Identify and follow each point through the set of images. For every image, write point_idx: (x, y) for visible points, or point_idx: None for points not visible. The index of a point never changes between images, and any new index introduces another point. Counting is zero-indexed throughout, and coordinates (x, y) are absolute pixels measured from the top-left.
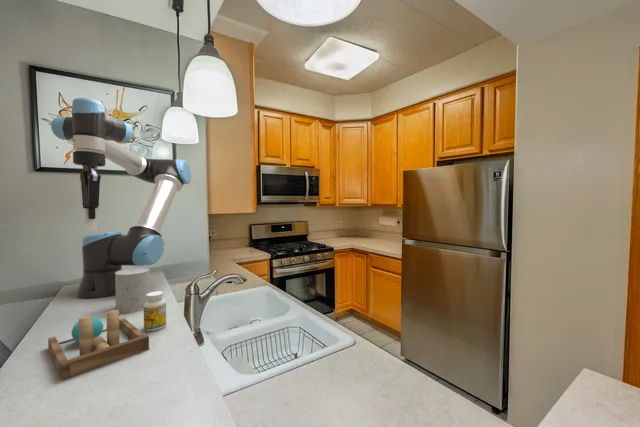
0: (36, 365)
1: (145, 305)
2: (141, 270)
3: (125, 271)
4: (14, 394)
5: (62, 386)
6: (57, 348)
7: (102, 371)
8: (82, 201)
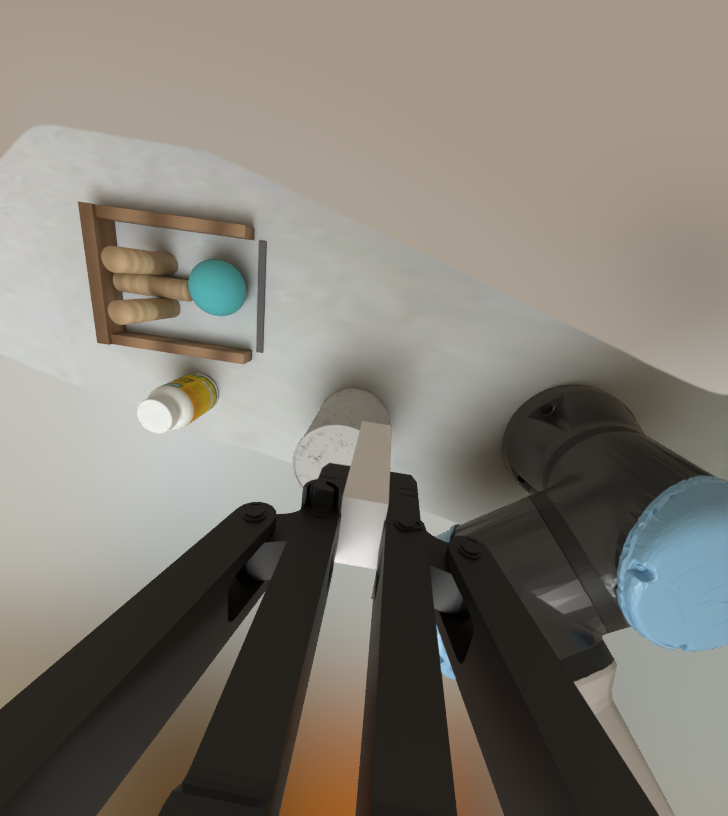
0: (190, 194)
1: (162, 387)
2: None
3: None
4: (105, 145)
5: None
6: (173, 221)
7: None
8: (500, 577)
